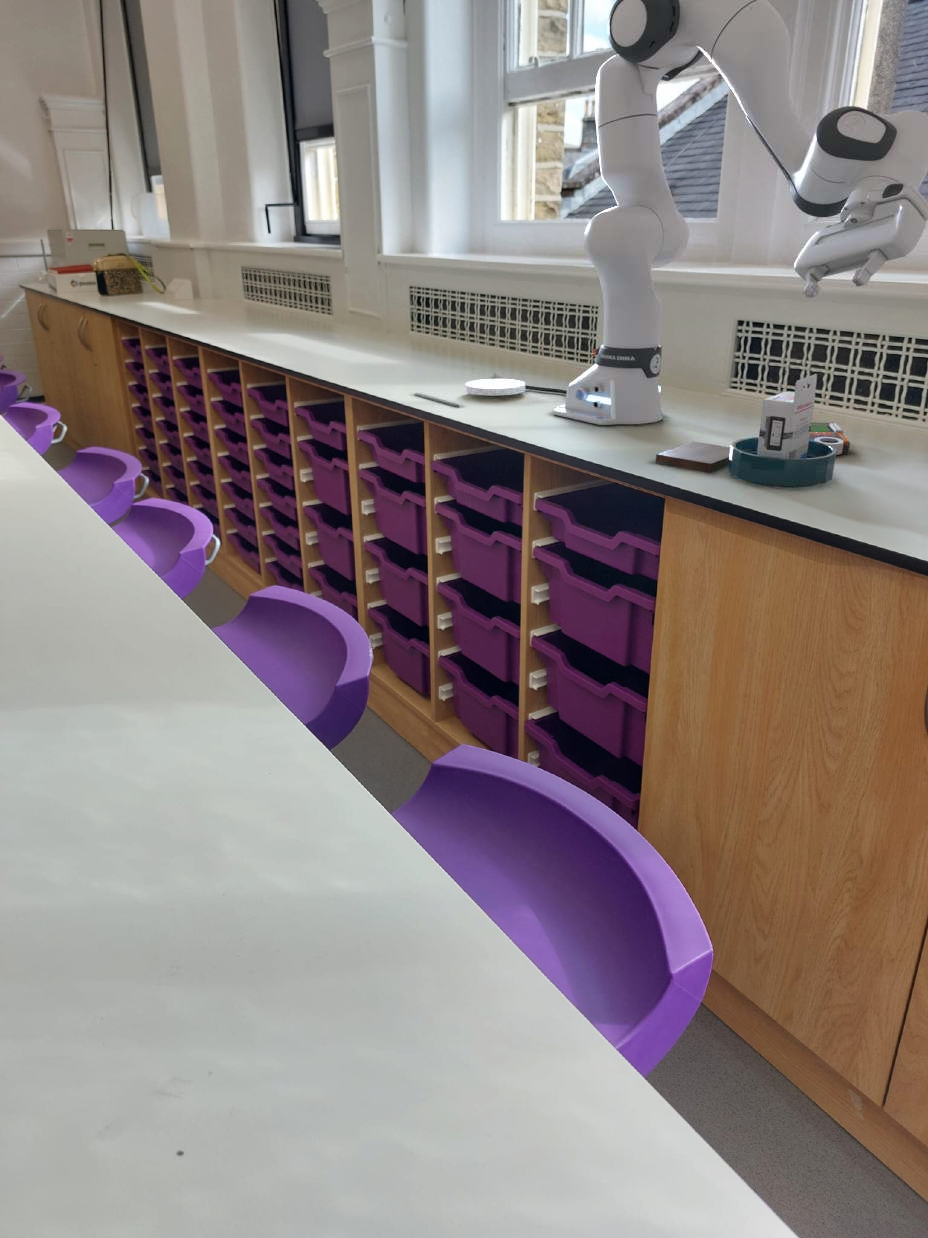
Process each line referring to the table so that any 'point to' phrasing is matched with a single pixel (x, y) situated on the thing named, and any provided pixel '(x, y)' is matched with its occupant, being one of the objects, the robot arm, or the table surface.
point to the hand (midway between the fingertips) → (833, 289)
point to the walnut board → (696, 457)
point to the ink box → (787, 422)
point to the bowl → (781, 465)
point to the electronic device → (830, 436)
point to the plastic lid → (495, 387)
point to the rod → (437, 400)
